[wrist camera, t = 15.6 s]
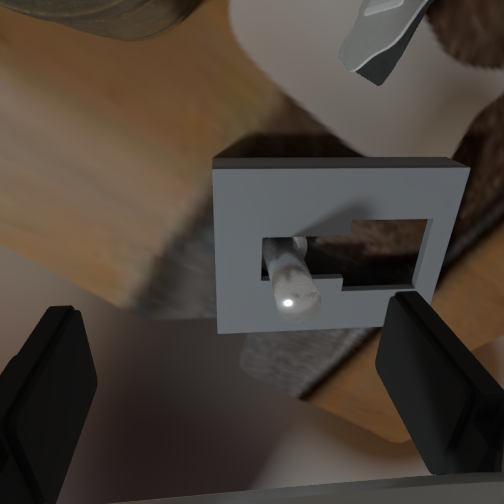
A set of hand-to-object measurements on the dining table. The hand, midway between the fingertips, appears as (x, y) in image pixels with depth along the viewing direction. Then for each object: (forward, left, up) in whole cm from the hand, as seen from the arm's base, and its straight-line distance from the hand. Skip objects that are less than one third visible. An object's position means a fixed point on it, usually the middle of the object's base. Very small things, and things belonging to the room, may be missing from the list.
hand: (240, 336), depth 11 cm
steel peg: (-6, +12, -30) cm, 33 cm away
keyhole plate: (-12, +12, -30) cm, 35 cm away
